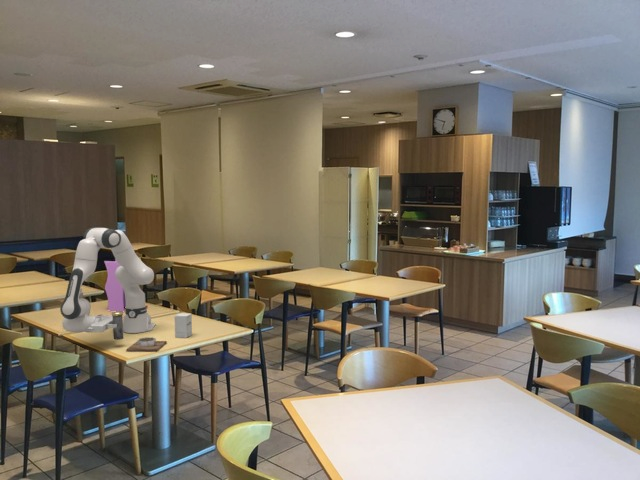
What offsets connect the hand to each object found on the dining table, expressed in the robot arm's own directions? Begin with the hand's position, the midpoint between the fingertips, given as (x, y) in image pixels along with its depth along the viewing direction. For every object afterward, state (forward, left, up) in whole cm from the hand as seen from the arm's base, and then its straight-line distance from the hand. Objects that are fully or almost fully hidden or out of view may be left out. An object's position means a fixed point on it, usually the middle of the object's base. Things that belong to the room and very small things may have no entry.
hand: (119, 324), depth 291 cm
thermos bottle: (-36, -41, -12) cm, 56 cm away
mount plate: (+1, +15, -12) cm, 19 cm away
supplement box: (-22, +28, -12) cm, 38 cm away
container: (-91, -37, -12) cm, 99 cm away
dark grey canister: (0, -1, -8) cm, 8 cm away
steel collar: (+1, +15, -11) cm, 19 cm away
